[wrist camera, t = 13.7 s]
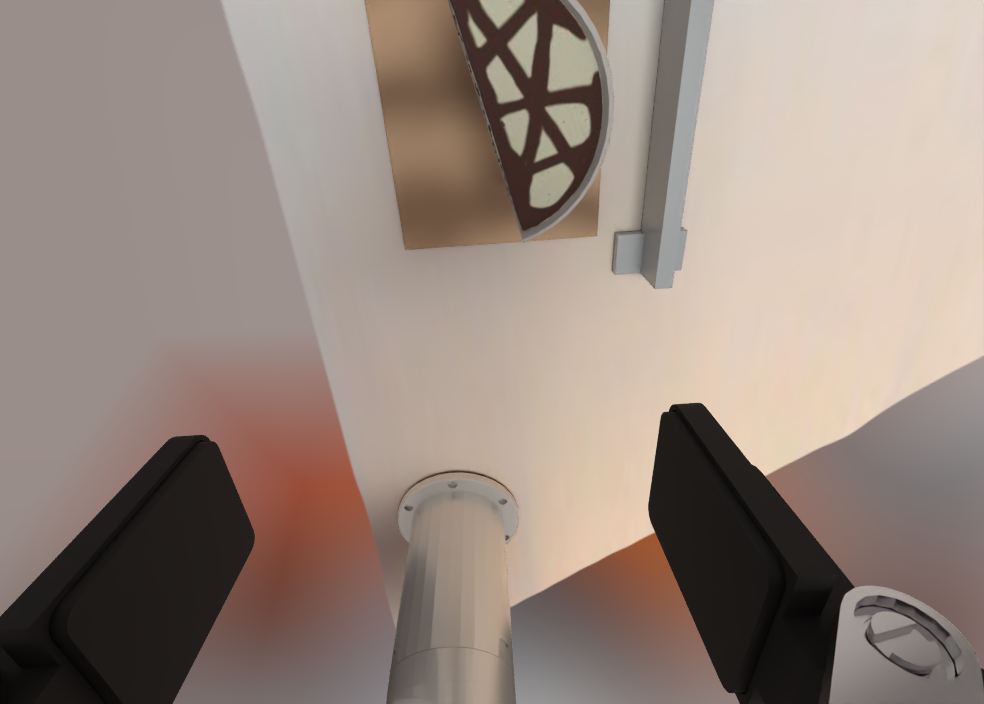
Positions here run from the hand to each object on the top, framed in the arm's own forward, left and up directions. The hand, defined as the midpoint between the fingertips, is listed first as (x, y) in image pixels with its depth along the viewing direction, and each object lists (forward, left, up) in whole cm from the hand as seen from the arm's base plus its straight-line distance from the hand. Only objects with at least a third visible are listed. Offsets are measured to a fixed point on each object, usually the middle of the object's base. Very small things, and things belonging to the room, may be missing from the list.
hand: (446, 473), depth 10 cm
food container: (+7, -5, -26) cm, 27 cm away
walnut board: (+6, -2, -26) cm, 27 cm away
